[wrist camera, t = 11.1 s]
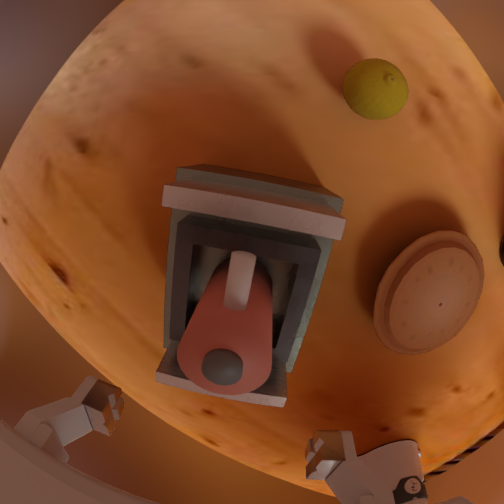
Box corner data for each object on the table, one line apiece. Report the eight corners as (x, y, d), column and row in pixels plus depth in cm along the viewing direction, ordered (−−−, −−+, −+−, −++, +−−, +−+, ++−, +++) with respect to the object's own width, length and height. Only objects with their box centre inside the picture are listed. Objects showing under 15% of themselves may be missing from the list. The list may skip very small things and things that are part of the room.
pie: (455, 200, 26) (481, 208, 21) (473, 303, 30) (492, 320, 25) (345, 258, 29) (357, 278, 24) (381, 355, 33) (393, 380, 28)
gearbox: (279, 352, 33) (281, 438, 21) (183, 333, 33) (148, 411, 21) (323, 187, 27) (365, 213, 14) (202, 163, 27) (149, 171, 14)
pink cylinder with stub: (265, 317, 23) (260, 409, 14) (207, 306, 23) (173, 391, 14) (286, 228, 20) (297, 289, 11) (219, 216, 20) (178, 265, 11)
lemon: (366, 134, 25) (400, 128, 17) (323, 97, 24) (343, 76, 16) (395, 99, 23) (434, 84, 16) (354, 62, 22) (381, 34, 15)
